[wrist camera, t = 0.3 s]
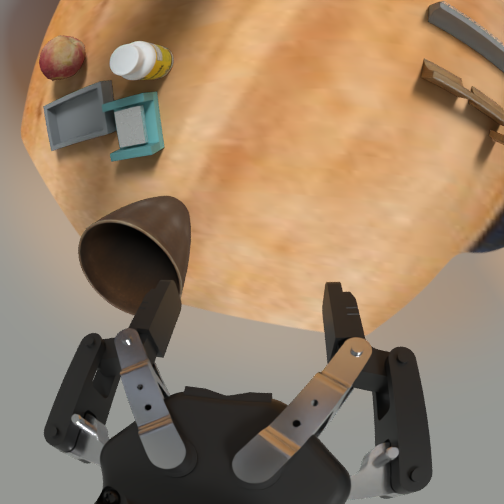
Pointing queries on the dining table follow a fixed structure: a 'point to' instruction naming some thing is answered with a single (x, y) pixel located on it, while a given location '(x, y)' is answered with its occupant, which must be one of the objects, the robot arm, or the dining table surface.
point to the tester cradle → (152, 125)
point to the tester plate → (131, 126)
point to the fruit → (62, 57)
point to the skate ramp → (480, 43)
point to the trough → (80, 115)
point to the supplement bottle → (141, 61)
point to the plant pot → (137, 250)
